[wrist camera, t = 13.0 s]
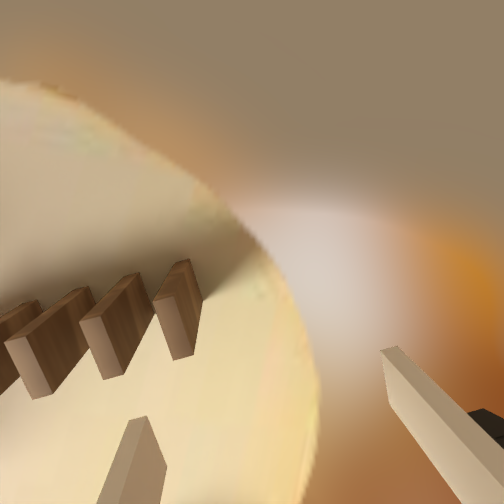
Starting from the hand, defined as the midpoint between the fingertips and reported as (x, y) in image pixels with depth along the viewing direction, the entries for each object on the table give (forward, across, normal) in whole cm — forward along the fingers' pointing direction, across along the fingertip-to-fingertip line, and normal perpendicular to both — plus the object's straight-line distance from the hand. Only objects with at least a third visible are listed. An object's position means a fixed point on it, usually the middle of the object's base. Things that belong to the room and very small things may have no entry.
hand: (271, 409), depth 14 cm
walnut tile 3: (+22, -17, 0) cm, 28 cm away
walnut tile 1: (+22, -6, 0) cm, 23 cm away
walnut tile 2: (+22, -12, 0) cm, 25 cm away
